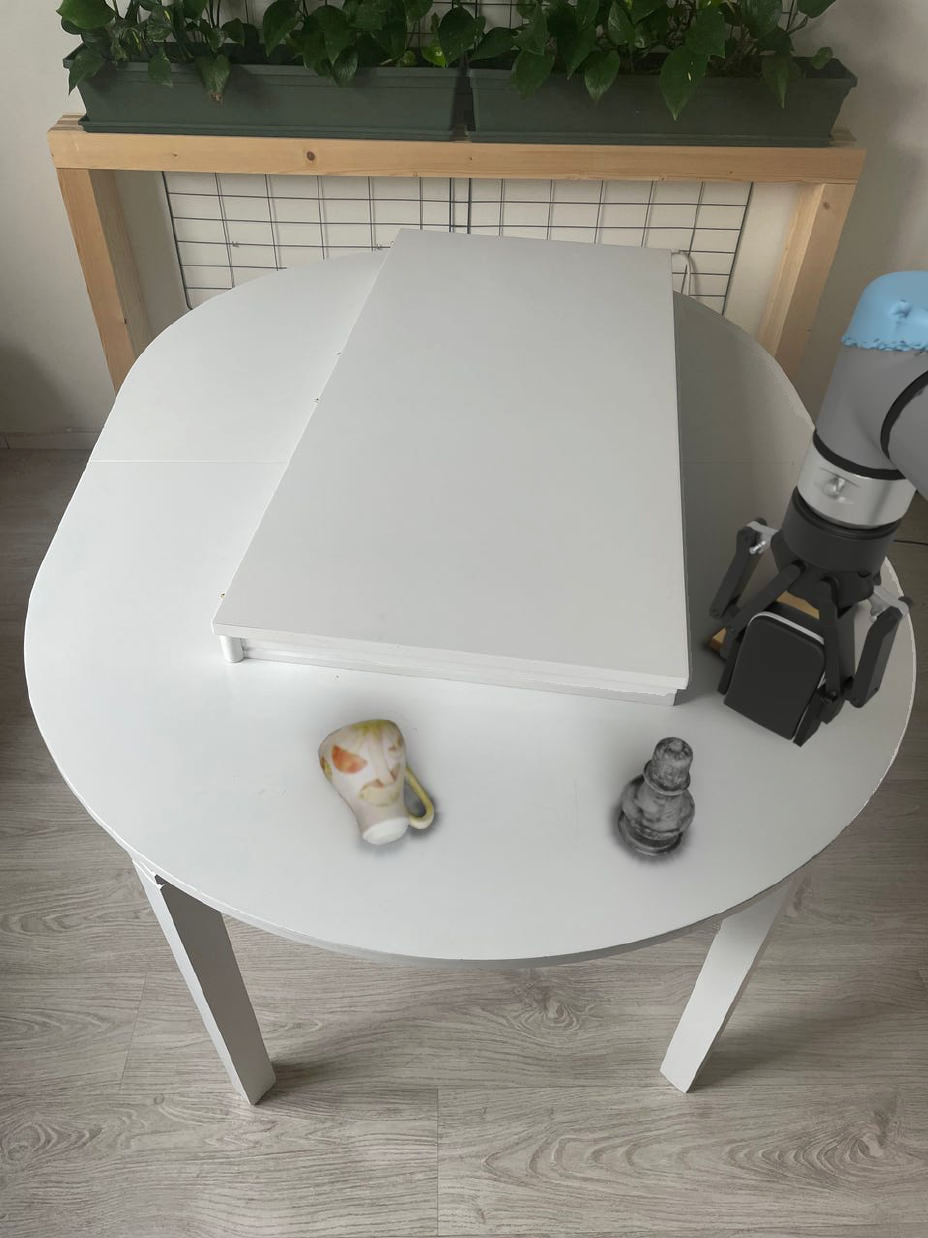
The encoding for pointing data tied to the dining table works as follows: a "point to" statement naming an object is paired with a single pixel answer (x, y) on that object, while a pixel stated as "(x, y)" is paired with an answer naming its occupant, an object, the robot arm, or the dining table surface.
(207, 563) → the dining table surface
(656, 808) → the grey chess piece
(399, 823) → the mug
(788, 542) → the robot arm
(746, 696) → the battery charger
